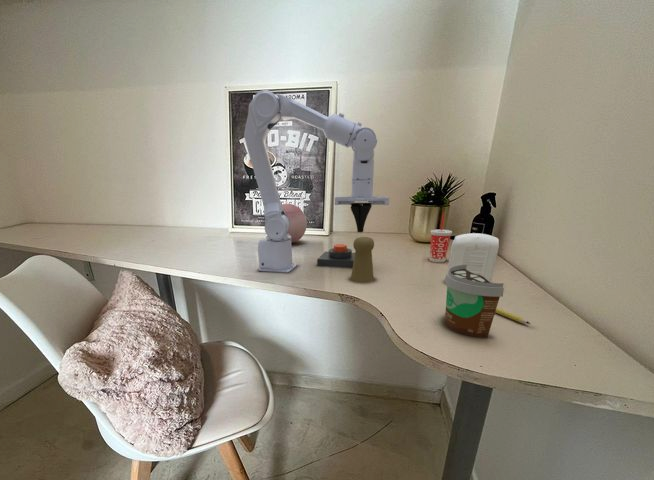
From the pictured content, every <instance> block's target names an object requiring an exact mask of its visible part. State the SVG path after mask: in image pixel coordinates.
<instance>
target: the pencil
mask: <svg viewBox="0 0 654 480" xmlns="http://www.w3.org/2000/svg"><path fill="white" fill-rule="evenodd" d="M495 314H498V315H500V316H503V317H506V318H507V319H511V320H513V321H516V322H517V323H521V324H528V325H531V322H530V321H528V320H527V319H525V317H521V316H519V315H517V314H514V313H513V312H509V311H506V310H504V309H501V308H499V307H497V308H496V311H495Z"/></svg>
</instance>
